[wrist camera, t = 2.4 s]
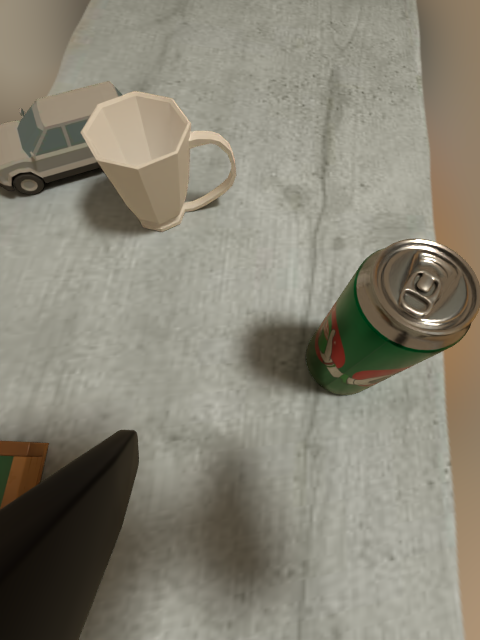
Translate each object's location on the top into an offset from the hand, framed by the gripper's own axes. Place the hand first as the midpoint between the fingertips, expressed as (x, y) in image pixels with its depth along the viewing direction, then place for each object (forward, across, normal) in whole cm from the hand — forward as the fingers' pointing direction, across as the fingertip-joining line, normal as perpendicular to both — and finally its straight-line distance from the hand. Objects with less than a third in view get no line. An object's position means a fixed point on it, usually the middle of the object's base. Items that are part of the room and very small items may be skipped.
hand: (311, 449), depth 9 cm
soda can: (+16, -5, +4) cm, 17 cm away
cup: (+24, +7, -6) cm, 26 cm away
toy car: (+27, +17, -10) cm, 34 cm away
